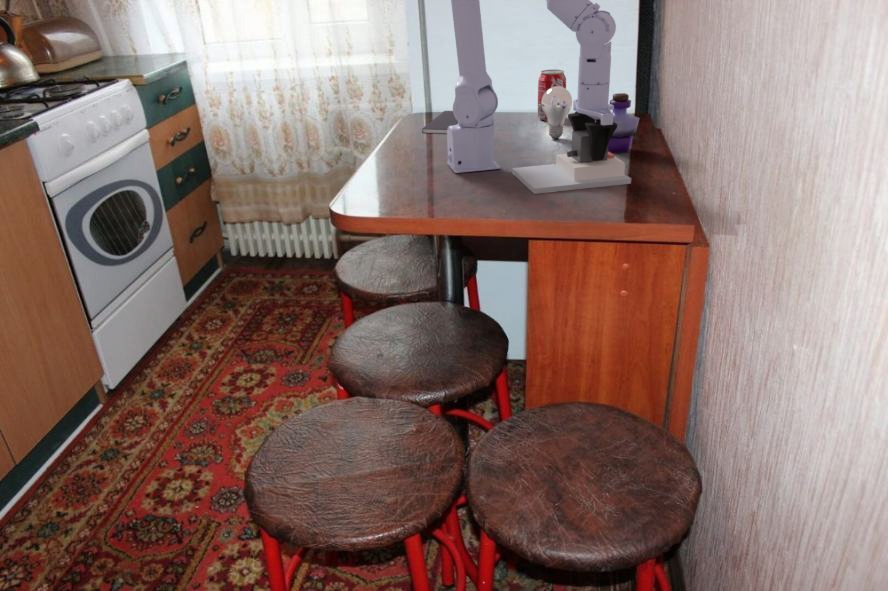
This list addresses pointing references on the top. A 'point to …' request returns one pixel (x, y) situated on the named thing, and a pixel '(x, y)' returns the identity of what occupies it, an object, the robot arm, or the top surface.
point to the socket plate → (590, 167)
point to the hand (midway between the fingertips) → (590, 154)
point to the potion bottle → (622, 125)
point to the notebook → (441, 123)
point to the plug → (582, 147)
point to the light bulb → (556, 109)
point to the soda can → (548, 86)
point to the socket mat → (560, 179)
